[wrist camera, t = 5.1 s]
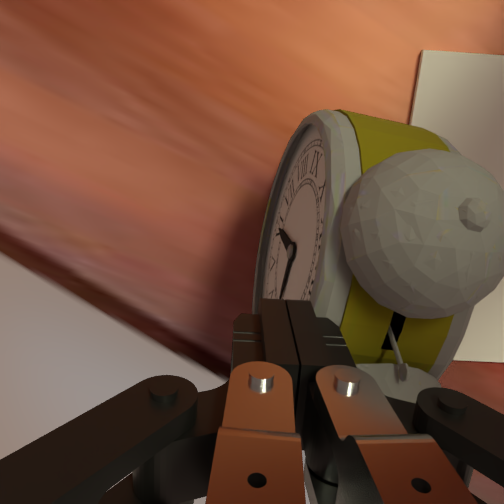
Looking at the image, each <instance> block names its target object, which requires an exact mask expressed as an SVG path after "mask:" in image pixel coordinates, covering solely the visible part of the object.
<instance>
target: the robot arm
mask: <svg viewBox="0 0 504 504" xmlns="http://www.w3.org/2000/svg"><path fill="white" fill-rule="evenodd" d="M302 450H304V451H305V456H306V457H305V466H304V473H303V461H302ZM473 469H475V470H477V471H479V472H480V473H482V474H483V475H485V476H486V477H488V478H490V479H491V480H493V481H494V482H496V483H497V484H499V485H501V486H502V487H504V415H503V414H501V413H499V412H497V411H496V410H494V409H492V408H490V407H488V406H486V405H484V404H482V403H480V402H478V401H476V400H474V399H473V398H471V397H469V396H467V395H465V394H463V393H460V392H458V391H455V390H451V389H447V388H440V387H432V388H426V389H424V390H422V391H420V392H419V394H418V395H417V400H416V403H411V402H407V401H403V400H399V399H395V398H391V397H388V396H386V395H384V394H383V392H382V390H381V389H380V387H379V386H378V384H377V382H376V381H375V380H374V378H373V377H372V376H370V375H369V374H368V373H366V372H364V371H362V370H360V369H358V368H357V367H356V365H355V362H354V360H353V358H352V356H351V353H350V351H349V349H348V347H347V346H346V342H345V340H344V338H343V335H342V333H341V331H340V328H339V326H337V325H336V324H335V323H334V322H333V321H331V320H330V319H329V318H325V317H316V315H315V312H314V309H313V306H312V304H311V301H309V300H289V299H285V300H284V299H268V298H259V305H258V314H240V315H239V316H238V317H237V319H236V320H235V321H234V326H233V342H232V359H231V375H230V379H229V380H228V381H227V382H226V383H225V384H223V385H222V386H220V387H218V388H215V389H212V390H208V391H203V392H198V391H197V388H196V387H195V385H194V384H193V383H192V382H190V381H189V380H187V379H185V378H182V377H179V376H173V375H161V376H154V377H151V378H148V379H145V380H143V381H141V382H139V383H137V384H136V385H134V386H132V387H130V388H129V389H127V390H125V391H123V392H121V393H119V394H118V395H116V396H114V397H112V398H110V399H109V400H107V401H105V402H103V403H101V404H100V405H98V406H96V407H94V408H92V409H91V410H89V411H87V412H85V413H83V414H82V415H80V416H78V417H76V418H75V419H73V420H71V421H69V422H68V423H66V424H64V425H62V426H60V427H58V428H57V429H55V430H53V431H51V432H49V433H48V434H46V435H44V436H42V437H40V438H39V439H37V440H35V441H33V442H31V443H30V444H28V445H26V446H24V447H22V448H21V449H19V450H17V451H15V452H14V453H12V454H10V455H8V456H7V457H5V458H3V459H1V460H0V504H193V503H194V499H197V498H201V497H205V496H207V498H206V503H205V504H306V500H305V487H304V482H305V486H306V489H307V493H308V497H309V501H310V504H487V503H485V502H484V501H482V500H481V499H479V498H478V497H476V496H475V495H473V494H472V493H471V492H470V491H469V490H468V487H469V483H470V480H471V476H472V472H473ZM132 471H133V473H131V472H132ZM130 473H131V474H130ZM128 474H130V475H128ZM127 475H128V476H127ZM125 476H127V477H126V478H124V477H125ZM123 478H124V479H123ZM121 479H123V480H122V481H120V480H121ZM119 481H120V482H119ZM117 482H119V483H118V484H116V483H117ZM115 484H116V485H115ZM113 485H115V486H114V487H112V486H113ZM111 487H112V488H111ZM110 488H111V489H110ZM108 489H110V490H108ZM107 490H108V491H107ZM106 491H107V492H106Z"/></svg>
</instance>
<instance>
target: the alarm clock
mask: <svg viewBox="0 0 504 504" xmlns="http://www.w3.org/2000/svg"><path fill="white" fill-rule="evenodd" d="M361 175H362V176H361ZM503 277H504V190H503V189H502V187H501V186H500V185H499V183H498V182H497V180H496V179H495V178H494V176H493V175H492V174H491V173H490V172H488V171H487V170H486V169H485V168H483V167H482V166H480V165H478V164H477V163H475V162H473V161H472V160H470V159H468V158H466V157H465V156H462V155H461V154H460V152H459V151H458V150H457V149H456V148H455V147H454V146H453V145H452V144H451V143H450V142H449V141H448V140H447V139H445V138H443V137H441V136H439V135H436V134H435V133H433V132H431V131H428V130H426V129H424V128H421V127H417V126H412V125H408V124H403V123H399V122H394V121H390V120H385V119H381V118H376V117H372V116H367V115H363V114H358V113H354V112H349V111H345V110H340V109H339V110H327V109H325V110H319V111H316V112H314V113H311V114H310V115H308V116H307V117H306V118H304V119H303V121H302V122H301V124H300V125H299V127H298V128H297V130H296V131H295V133H294V134H293V136H292V137H291V139H290V140H289V142H288V145H287V147H286V150H285V152H284V155H283V157H282V159H281V162H280V165H279V168H278V171H277V173H276V176H275V179H274V182H273V186H272V189H271V193H270V196H269V200H268V204H267V208H266V212H265V217H264V221H263V226H262V231H261V236H260V242H259V248H258V254H257V261H256V269H255V278H254V288H253V303H252V314H258V305H259V298H268V299H284V300H285V299H289V300H309V301H311V304H312V306H313V309H314V312H315V315H316V317H325V318H329V319H330V320H331V321H333V322H334V323H335V324H336V325H337V326H339V328H340V331H341V333H342V335H343V338H344V340H345V342H346V346H347V347H348V349H349V351H350V353H351V356H352V358H353V360H354V362H355V365H356V367H357V368H358V369H360V370H362V371H364V372H366V373H368V374H369V375H370V376H372V377H373V378H374V380H375V381H376V382H377V384H378V386H379V387H380V389H381V390H382V392H383V394H384V395H386V396H388V397H391V398H395V399H399V400H403V401H407V402H411V403H416V400H417V395H418V394H419V392H420V391H422V390H424V389H426V388H432V387H440V388H441V384H440V383H439V382H438V380H439V378H440V377H441V375H442V374H443V373H444V371H445V370H446V369H447V367H448V366H449V365H450V363H451V362H452V360H453V358H454V356H455V354H456V352H457V350H458V348H459V346H460V344H461V342H462V340H463V338H464V335H465V332H466V329H467V327H468V324H469V321H470V318H471V315H472V312H473V309H474V306H475V305H476V304H477V303H478V302H480V301H481V300H482V299H483V298H485V297H486V296H487V295H489V294H490V293H491V292H492V291H494V290H495V288H496V287H497V285H498V284H499V283H500V281H501V280H502V278H503Z"/></svg>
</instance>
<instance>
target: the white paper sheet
mask: <svg viewBox="0 0 504 504" xmlns="http://www.w3.org/2000/svg"><path fill="white" fill-rule="evenodd" d="M409 125H412V126H417V127H421V128H424V129H426V130H428V131H431V132H433V133H435V134H436V135H439V136H441V137H443V138H445V139H447V140H448V141H449V142H450V143H451V144H452V145H453V146H454V147H455V148H456V149H457V150H458V151H459V152H460V154H461V155H462V156H465V157H466V158H468V159H470V160H472V161H473V162H475V163H477V164H478V165H480V166H482V167H483V168H485V169H486V170H487V171H488V172H490V173H491V174H492V175H493V176H494V178H495V179H496V180H497V182H498V183H499V185H500V186H501V187H502V189H503V190H504V55H492V54H478V53H463V52H448V51H433V50H422V51H421V57H420V63H419V69H418V75H417V81H416V87H415V93H414V99H413V105H412V111H411V117H410V123H409ZM453 360H462V361H483V362H504V277H503V278H502V280H501V281H500V283H499V284H498V285H497V287H496V288H495V290H494V291H492V292H491V293H490V294H489V295H487V296H486V297H485V298H483V299H482V300H481V301H480V302H478V303H477V304H476V305H475V306H474V309H473V312H472V315H471V318H470V321H469V324H468V327H467V329H466V332H465V335H464V338H463V340H462V342H461V344H460V346H459V348H458V350H457V352H456V354H455V356H454V358H453Z"/></svg>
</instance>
